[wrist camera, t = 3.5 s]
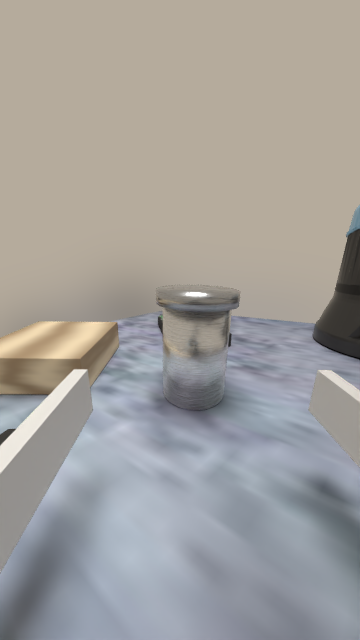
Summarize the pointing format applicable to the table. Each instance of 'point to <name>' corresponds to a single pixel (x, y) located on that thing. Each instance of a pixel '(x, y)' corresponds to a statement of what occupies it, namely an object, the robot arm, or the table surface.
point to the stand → (54, 354)
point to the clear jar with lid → (195, 342)
